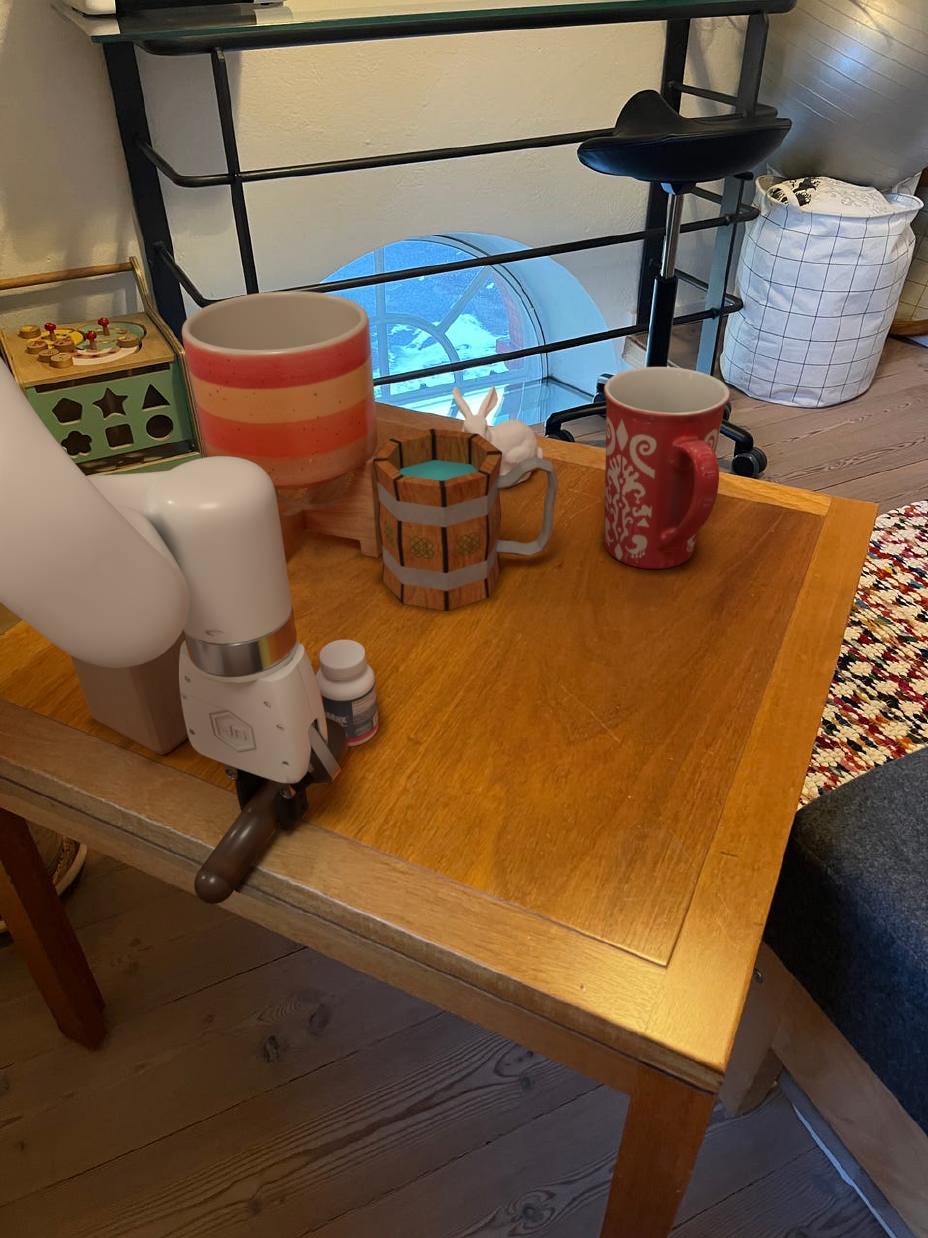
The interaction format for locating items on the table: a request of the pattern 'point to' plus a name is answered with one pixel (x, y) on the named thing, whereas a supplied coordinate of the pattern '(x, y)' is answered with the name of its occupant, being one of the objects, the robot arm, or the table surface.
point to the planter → (293, 404)
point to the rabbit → (500, 433)
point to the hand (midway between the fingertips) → (275, 810)
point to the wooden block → (138, 699)
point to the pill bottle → (348, 689)
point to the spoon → (251, 833)
